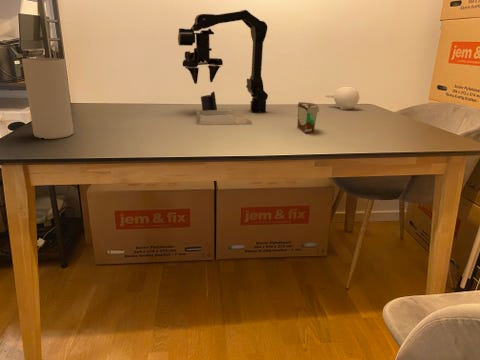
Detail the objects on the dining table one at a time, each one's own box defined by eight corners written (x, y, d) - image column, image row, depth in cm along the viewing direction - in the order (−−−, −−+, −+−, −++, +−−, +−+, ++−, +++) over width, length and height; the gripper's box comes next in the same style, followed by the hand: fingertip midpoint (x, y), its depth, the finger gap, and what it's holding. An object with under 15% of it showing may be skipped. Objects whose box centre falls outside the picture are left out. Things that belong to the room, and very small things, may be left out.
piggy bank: (359, 113, 198) (338, 110, 210) (366, 90, 196) (345, 88, 209) (342, 107, 191) (321, 105, 204) (349, 83, 190) (328, 82, 202)
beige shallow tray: (247, 117, 173) (247, 109, 172) (252, 124, 161) (252, 115, 160) (196, 118, 170) (196, 110, 168) (197, 124, 158) (197, 115, 157)
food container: (321, 134, 148) (324, 107, 145) (305, 134, 147) (308, 107, 144) (310, 127, 160) (313, 101, 156) (296, 127, 159) (298, 101, 155)
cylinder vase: (50, 141, 129) (38, 61, 120) (25, 136, 135) (13, 59, 126) (81, 134, 139) (73, 59, 130) (57, 129, 145) (48, 57, 136)
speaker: (221, 114, 178) (219, 90, 174) (215, 117, 173) (212, 93, 170) (207, 114, 181) (205, 91, 178) (200, 116, 177) (197, 93, 173)
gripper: (206, 44, 182) (206, 79, 187) (173, 45, 169) (175, 82, 174) (223, 45, 175) (223, 81, 180) (190, 46, 162) (191, 85, 167)
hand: (203, 82), depth 176 cm, fingers open, 9 cm apart
